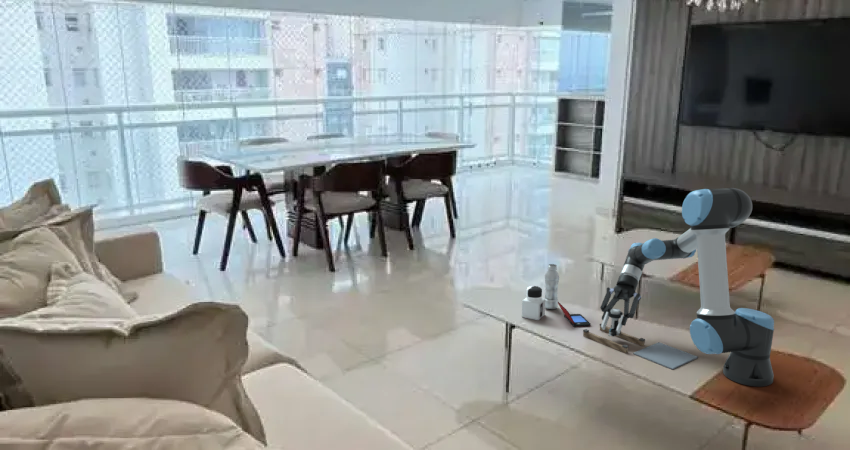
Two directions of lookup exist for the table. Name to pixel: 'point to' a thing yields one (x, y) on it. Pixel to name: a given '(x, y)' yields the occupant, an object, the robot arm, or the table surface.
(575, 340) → the table surface
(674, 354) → the slate mat
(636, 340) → the rails
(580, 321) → the handheld game console
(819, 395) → the table surface
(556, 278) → the plastic bottle
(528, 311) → the container
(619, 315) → the push button
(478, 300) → the table surface
